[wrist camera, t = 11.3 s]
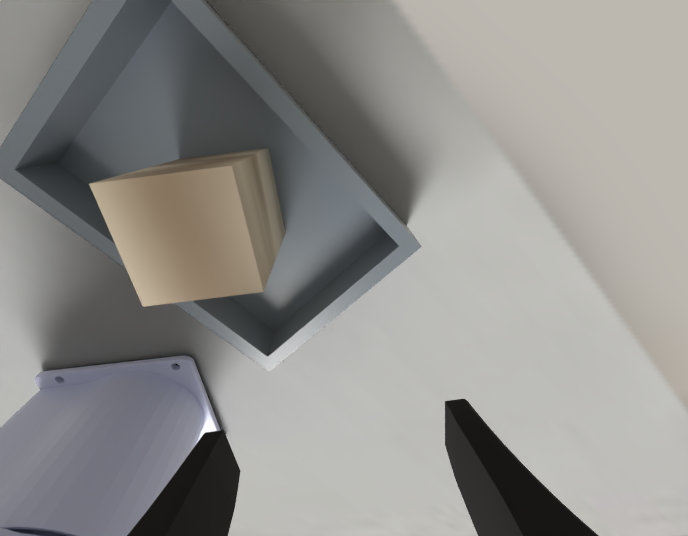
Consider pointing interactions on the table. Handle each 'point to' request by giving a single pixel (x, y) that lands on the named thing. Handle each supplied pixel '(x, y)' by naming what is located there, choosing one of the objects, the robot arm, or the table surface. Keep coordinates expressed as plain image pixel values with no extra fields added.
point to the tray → (201, 140)
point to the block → (195, 225)
